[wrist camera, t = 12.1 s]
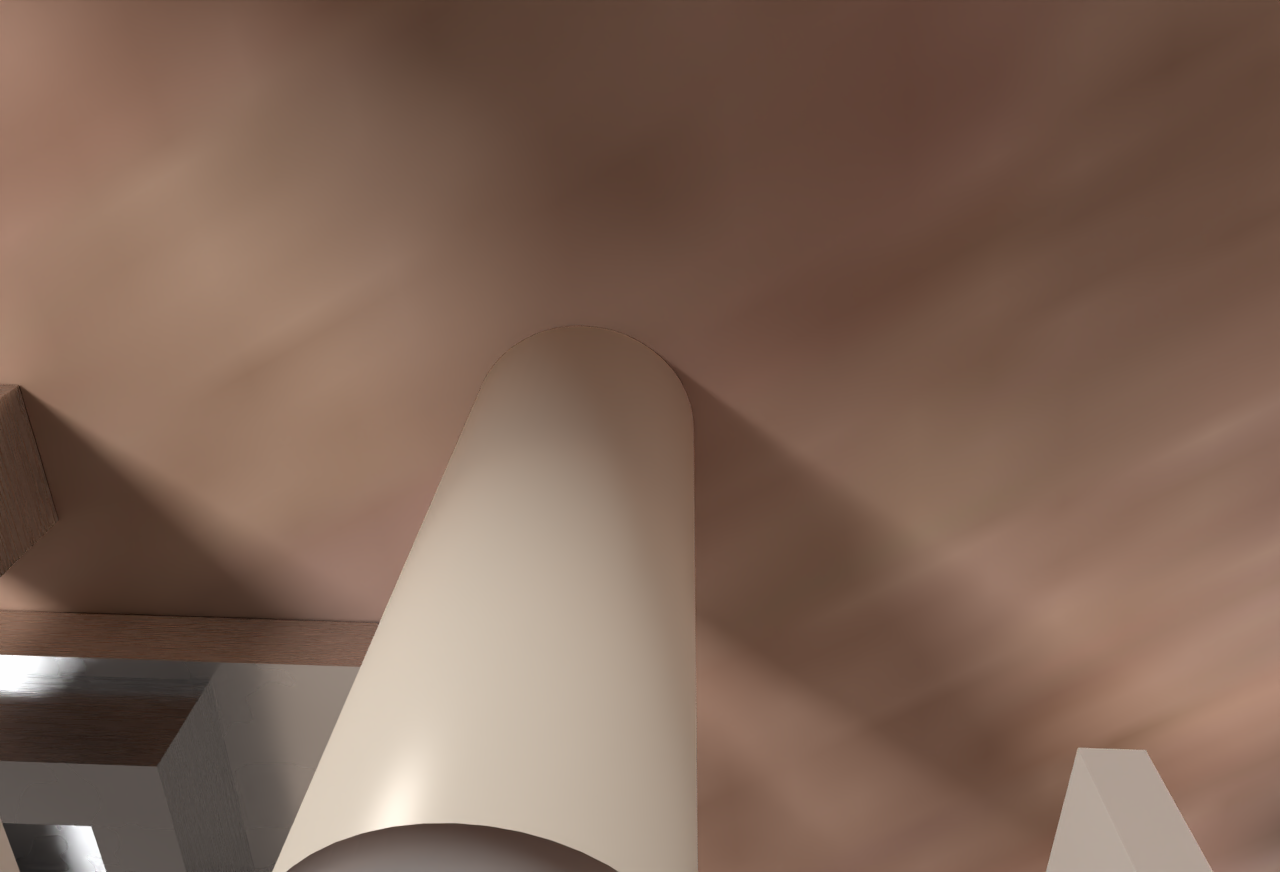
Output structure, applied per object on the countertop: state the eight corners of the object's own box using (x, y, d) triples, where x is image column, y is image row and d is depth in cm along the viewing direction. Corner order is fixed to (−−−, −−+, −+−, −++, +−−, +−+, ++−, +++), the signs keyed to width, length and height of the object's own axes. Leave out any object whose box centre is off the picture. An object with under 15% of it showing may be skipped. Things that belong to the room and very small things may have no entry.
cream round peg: (467, 323, 20) (167, 891, 8) (697, 328, 20) (708, 912, 8) (481, 519, 22) (255, 1189, 10) (690, 525, 22) (692, 1212, 10)
